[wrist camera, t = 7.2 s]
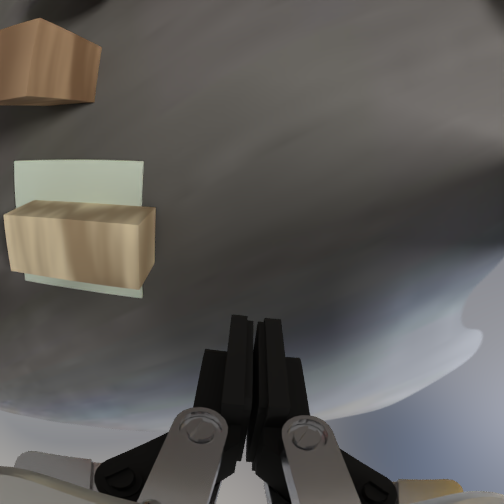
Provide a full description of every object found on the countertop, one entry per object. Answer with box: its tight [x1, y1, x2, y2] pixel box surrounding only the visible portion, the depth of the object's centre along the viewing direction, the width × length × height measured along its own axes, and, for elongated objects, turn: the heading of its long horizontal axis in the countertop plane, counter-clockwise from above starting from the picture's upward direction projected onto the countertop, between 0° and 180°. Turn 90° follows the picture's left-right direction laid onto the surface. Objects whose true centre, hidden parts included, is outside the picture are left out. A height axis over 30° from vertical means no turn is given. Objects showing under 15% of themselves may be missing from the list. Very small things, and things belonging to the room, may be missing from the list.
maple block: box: [4, 200, 156, 290], centre depth 19 cm, size 4×4×10 cm
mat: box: [14, 159, 144, 298], centre depth 21 cm, size 11×10×1 cm
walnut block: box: [0, 18, 102, 106], centre depth 13 cm, size 4×4×8 cm
